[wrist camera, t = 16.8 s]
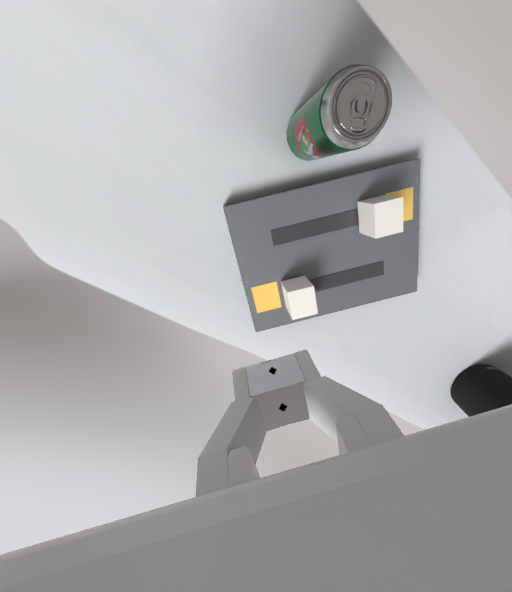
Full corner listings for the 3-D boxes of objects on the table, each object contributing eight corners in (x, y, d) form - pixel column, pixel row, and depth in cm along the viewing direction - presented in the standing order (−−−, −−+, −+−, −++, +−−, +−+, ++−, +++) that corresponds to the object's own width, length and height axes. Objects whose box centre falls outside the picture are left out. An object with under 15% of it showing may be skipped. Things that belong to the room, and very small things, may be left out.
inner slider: (357, 201, 30) (374, 204, 27) (383, 195, 30) (403, 196, 27) (359, 232, 31) (375, 238, 28) (384, 226, 31) (403, 231, 28)
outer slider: (280, 281, 32) (287, 292, 29) (304, 275, 33) (314, 285, 29) (285, 306, 34) (292, 320, 31) (308, 300, 34) (317, 313, 31)
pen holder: (505, 383, 48) (573, 431, 38) (458, 412, 49) (512, 465, 40) (489, 351, 44) (558, 395, 35) (438, 383, 46) (492, 434, 36)
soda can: (334, 107, 28) (405, 59, 17) (329, 161, 30) (390, 149, 19) (286, 106, 28) (328, 55, 17) (284, 161, 30) (321, 148, 19)
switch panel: (223, 206, 31) (223, 207, 29) (408, 160, 31) (420, 158, 29) (254, 324, 37) (255, 332, 35) (407, 285, 38) (417, 291, 36)
